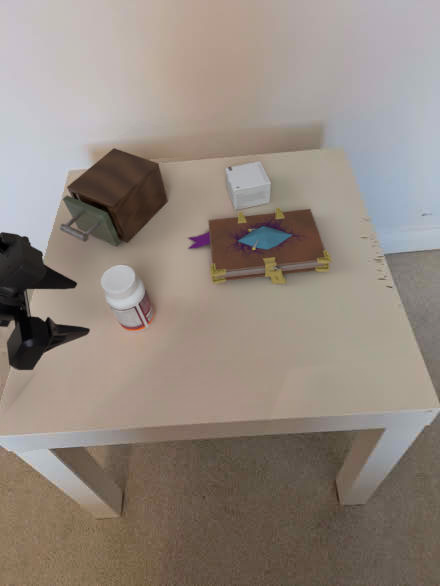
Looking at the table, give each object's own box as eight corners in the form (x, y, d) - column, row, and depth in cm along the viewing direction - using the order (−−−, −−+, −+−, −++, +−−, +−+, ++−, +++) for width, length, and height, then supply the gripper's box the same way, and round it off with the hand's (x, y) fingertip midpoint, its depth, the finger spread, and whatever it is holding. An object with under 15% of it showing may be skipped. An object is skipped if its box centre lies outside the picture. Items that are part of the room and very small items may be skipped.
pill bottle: (143, 296, 66) (125, 254, 56) (162, 319, 63) (146, 279, 53) (113, 316, 64) (89, 276, 55) (131, 340, 61) (109, 302, 52)
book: (187, 233, 75) (183, 214, 71) (309, 219, 74) (312, 199, 71) (189, 297, 65) (185, 278, 61) (331, 281, 64) (335, 262, 60)
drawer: (101, 262, 70) (85, 233, 63) (62, 243, 74) (44, 213, 67) (155, 206, 78) (146, 176, 71) (118, 192, 81) (106, 161, 75)
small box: (270, 203, 77) (271, 183, 73) (234, 211, 76) (232, 191, 72) (260, 180, 81) (260, 160, 77) (225, 187, 81) (224, 167, 77)
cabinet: (127, 243, 73) (112, 206, 66) (85, 224, 78) (66, 187, 70) (168, 201, 80) (158, 163, 72) (126, 185, 84) (113, 147, 76)
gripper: (-17, 307, 36) (124, 321, 47) (-26, 194, 46) (92, 227, 57) (-49, 373, 41) (86, 372, 52) (-50, 257, 51) (62, 277, 62)
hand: (82, 307), depth 56 cm, fingers open, 9 cm apart
